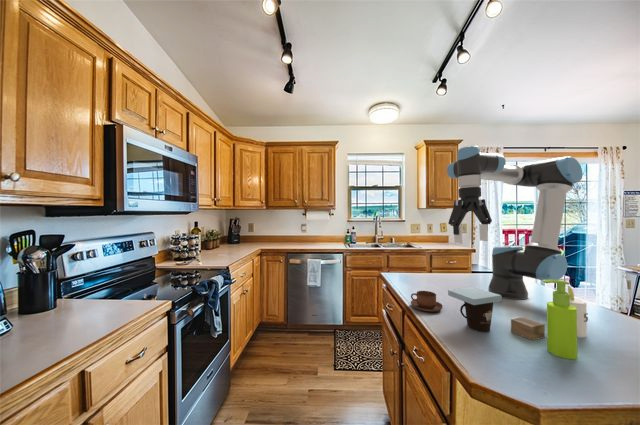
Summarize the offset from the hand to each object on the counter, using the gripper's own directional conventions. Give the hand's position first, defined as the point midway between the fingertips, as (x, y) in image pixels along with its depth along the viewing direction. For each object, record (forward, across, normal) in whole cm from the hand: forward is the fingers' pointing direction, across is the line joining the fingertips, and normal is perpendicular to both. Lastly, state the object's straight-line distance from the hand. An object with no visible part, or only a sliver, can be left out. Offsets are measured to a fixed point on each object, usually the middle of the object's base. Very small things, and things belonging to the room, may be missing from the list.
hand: (471, 242), depth 95 cm
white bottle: (+28, -16, +22) cm, 39 cm away
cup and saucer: (+28, +13, -11) cm, 32 cm away
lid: (+17, +10, +8) cm, 22 cm away
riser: (+28, -1, +18) cm, 33 cm away
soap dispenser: (+28, +3, +28) cm, 39 cm away
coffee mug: (+28, +11, +8) cm, 31 cm away
